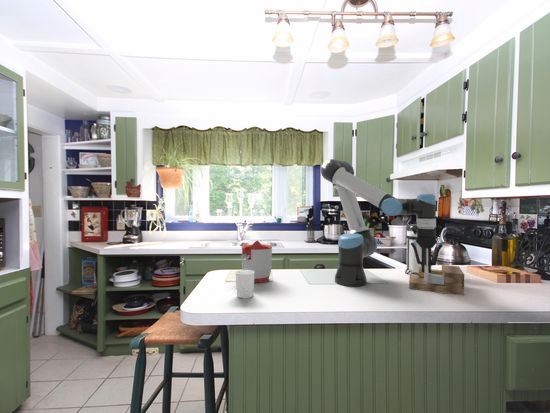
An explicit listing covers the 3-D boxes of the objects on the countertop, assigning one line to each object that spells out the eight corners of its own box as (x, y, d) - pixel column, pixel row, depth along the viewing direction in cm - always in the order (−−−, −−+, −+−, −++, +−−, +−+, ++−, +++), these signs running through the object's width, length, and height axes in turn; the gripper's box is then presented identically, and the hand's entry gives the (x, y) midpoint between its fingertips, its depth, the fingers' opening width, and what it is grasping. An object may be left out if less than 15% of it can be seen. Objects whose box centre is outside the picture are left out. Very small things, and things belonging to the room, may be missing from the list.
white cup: (239, 300, 111) (239, 275, 111) (232, 294, 118) (233, 270, 118) (257, 297, 115) (257, 272, 115) (250, 291, 122) (250, 268, 122)
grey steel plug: (428, 283, 124) (428, 274, 124) (427, 280, 128) (427, 272, 128) (457, 286, 119) (457, 277, 119) (456, 284, 123) (456, 275, 123)
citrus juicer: (232, 281, 138) (232, 240, 138) (256, 274, 151) (256, 237, 151) (254, 287, 128) (254, 244, 128) (278, 279, 141) (278, 240, 141)
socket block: (409, 288, 127) (409, 268, 127) (409, 279, 142) (409, 262, 142) (464, 295, 118) (464, 274, 118) (458, 284, 133) (458, 266, 133)
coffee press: (441, 277, 147) (442, 220, 147) (411, 277, 147) (411, 220, 147) (424, 269, 164) (425, 218, 164) (397, 269, 164) (397, 218, 164)
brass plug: (418, 276, 136) (418, 268, 136) (418, 274, 140) (418, 267, 140) (445, 279, 131) (445, 271, 131) (444, 277, 135) (444, 269, 135)
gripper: (410, 228, 126) (410, 280, 126) (443, 229, 120) (443, 283, 120) (410, 226, 133) (410, 276, 133) (442, 227, 127) (442, 279, 127)
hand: (426, 279), depth 127 cm, fingers closed
